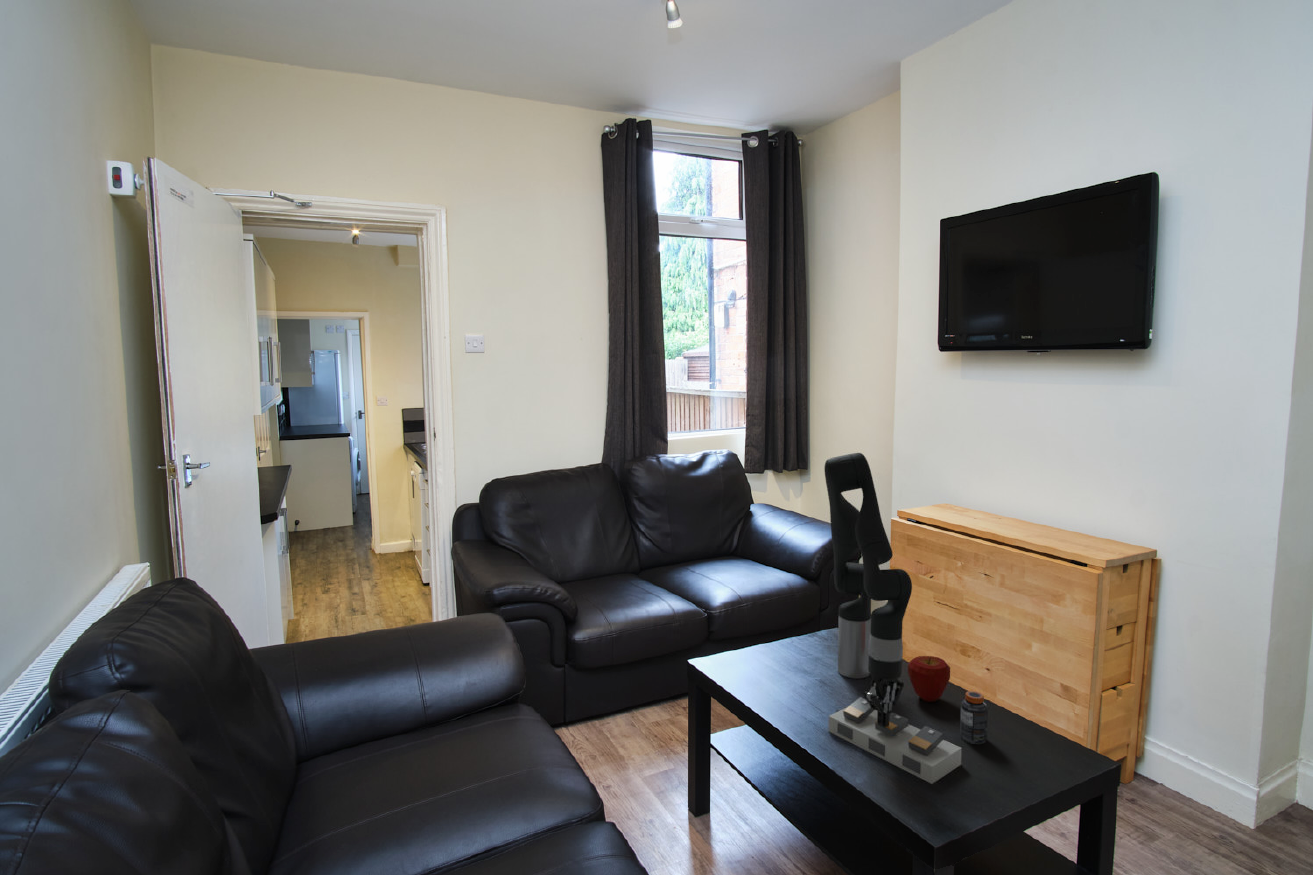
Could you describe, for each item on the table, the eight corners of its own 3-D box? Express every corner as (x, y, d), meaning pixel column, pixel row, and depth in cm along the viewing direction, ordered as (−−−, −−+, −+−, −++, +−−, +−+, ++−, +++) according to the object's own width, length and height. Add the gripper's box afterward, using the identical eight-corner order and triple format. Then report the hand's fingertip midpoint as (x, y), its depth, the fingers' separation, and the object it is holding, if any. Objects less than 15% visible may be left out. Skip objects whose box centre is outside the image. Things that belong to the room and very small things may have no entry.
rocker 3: (925, 731, 159) (925, 724, 159) (943, 739, 156) (942, 732, 156) (909, 747, 156) (908, 741, 155) (926, 756, 152) (925, 749, 152)
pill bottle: (985, 734, 169) (986, 690, 168) (988, 746, 163) (990, 701, 162) (958, 730, 171) (960, 687, 170) (961, 742, 165) (962, 697, 164)
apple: (927, 686, 194) (928, 645, 193) (958, 703, 185) (960, 660, 184) (898, 694, 190) (899, 653, 189) (928, 712, 180) (930, 667, 179)
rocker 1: (860, 702, 174) (860, 696, 173) (875, 709, 170) (874, 702, 170) (843, 716, 170) (843, 710, 169) (858, 723, 166) (857, 717, 166)
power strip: (851, 713, 180) (852, 696, 179) (961, 764, 156) (961, 745, 156) (821, 728, 172) (822, 711, 172) (931, 784, 149) (932, 764, 148)
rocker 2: (892, 718, 167) (892, 711, 167) (908, 725, 163) (908, 718, 163) (875, 728, 163) (875, 721, 162) (891, 736, 159) (891, 729, 159)
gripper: (888, 642, 166) (885, 711, 168) (854, 655, 158) (852, 727, 160) (916, 652, 160) (913, 723, 162) (882, 665, 152) (880, 740, 154)
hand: (883, 725), depth 161 cm, fingers closed
